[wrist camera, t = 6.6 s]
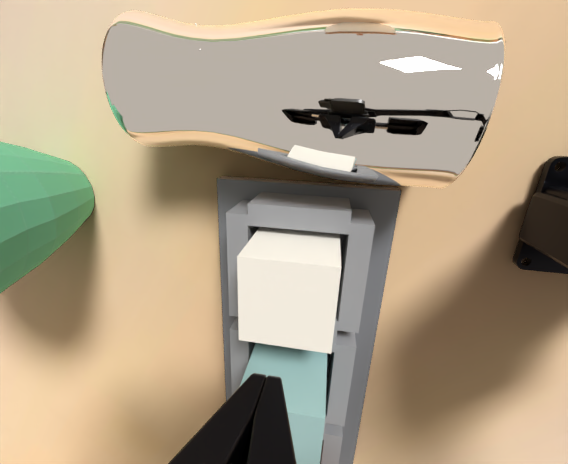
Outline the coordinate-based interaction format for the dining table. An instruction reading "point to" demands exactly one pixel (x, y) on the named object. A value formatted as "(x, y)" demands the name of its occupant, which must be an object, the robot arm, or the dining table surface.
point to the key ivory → (289, 288)
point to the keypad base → (352, 289)
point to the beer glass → (313, 89)
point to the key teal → (297, 393)
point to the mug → (37, 208)
